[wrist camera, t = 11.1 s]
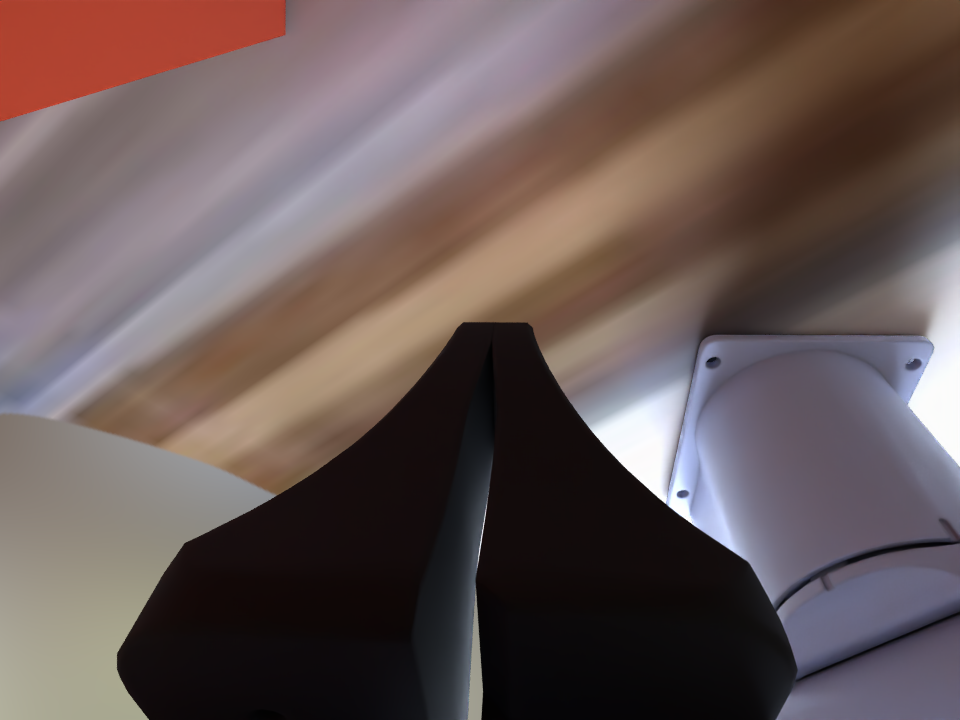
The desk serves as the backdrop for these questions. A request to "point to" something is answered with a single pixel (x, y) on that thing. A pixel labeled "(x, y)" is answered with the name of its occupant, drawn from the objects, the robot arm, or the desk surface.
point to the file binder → (116, 43)
